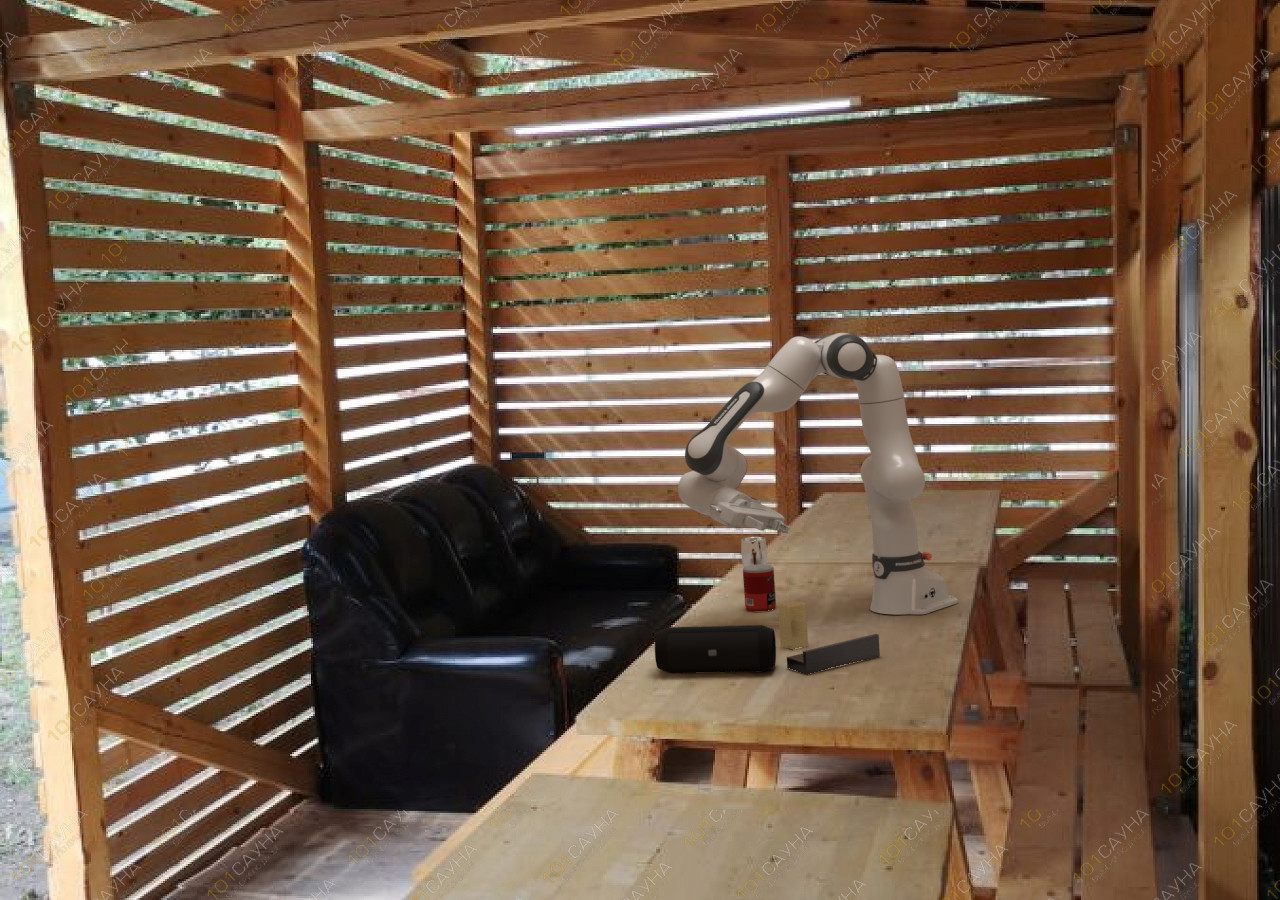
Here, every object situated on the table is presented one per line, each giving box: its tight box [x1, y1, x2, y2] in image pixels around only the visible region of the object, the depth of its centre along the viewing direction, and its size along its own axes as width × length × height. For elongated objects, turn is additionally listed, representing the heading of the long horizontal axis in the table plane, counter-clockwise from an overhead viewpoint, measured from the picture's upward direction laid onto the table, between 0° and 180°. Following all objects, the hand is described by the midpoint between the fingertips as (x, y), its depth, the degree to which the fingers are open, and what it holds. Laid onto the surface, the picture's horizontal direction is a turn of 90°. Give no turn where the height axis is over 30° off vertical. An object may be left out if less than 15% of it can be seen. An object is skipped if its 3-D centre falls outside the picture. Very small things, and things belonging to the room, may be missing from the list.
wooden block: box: [777, 600, 809, 649], centre depth 309 cm, size 4×4×10 cm
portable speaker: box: [654, 624, 777, 674], centre depth 294 cm, size 26×10×10 cm, turn 79°
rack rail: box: [786, 633, 881, 676], centre depth 294 cm, size 7×20×5 cm, turn 120°
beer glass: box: [740, 536, 768, 568], centre depth 366 cm, size 7×7×15 cm
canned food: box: [742, 564, 777, 612], centre depth 348 cm, size 8×8×11 cm
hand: (775, 528), depth 315 cm, fingers open, 8 cm apart
